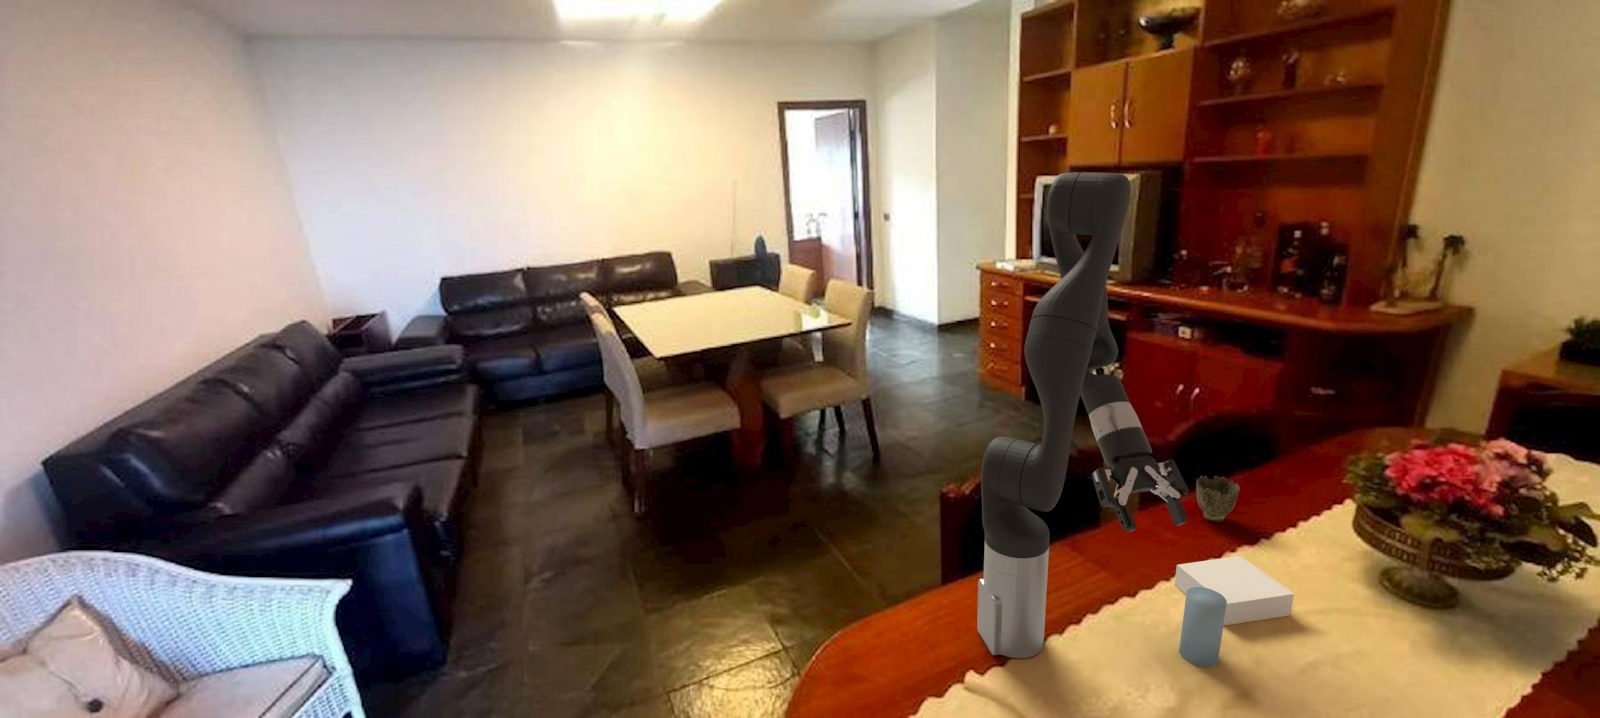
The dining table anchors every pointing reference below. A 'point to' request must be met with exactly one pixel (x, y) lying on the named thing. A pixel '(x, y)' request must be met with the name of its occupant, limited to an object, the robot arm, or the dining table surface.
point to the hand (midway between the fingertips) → (1156, 527)
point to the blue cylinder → (1202, 626)
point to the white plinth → (1238, 588)
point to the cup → (1216, 497)
